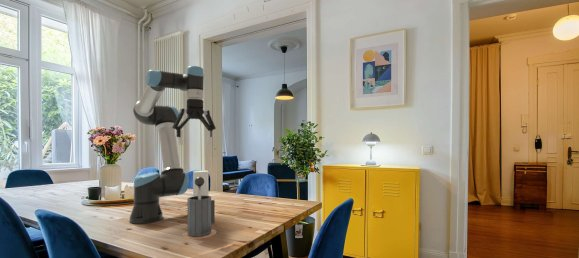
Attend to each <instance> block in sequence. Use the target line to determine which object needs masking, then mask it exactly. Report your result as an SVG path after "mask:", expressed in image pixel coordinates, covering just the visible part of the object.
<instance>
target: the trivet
mask: <svg viewBox="0 0 579 258" xmlns="http://www.w3.org/2000/svg"><path fill="white" fill-rule="evenodd" d="M217 233H218V232H217V230H216V229H213V228H211V234H209V235H207V236H203V237H190V236H188V233H187V231H185V232H183V233H182V235H181V237H182V238H184V239H186V240H201V239H202V240H203V239H206V238H211V237H213V236H215V235H216V234H217Z"/></svg>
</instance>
